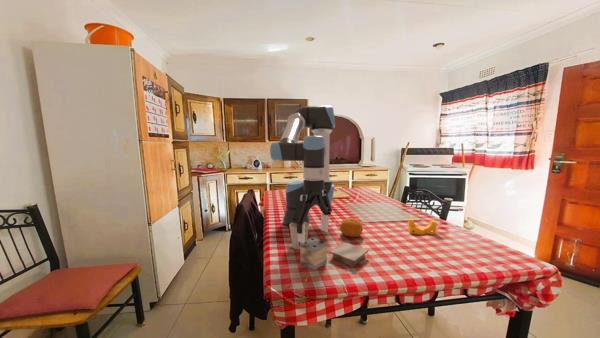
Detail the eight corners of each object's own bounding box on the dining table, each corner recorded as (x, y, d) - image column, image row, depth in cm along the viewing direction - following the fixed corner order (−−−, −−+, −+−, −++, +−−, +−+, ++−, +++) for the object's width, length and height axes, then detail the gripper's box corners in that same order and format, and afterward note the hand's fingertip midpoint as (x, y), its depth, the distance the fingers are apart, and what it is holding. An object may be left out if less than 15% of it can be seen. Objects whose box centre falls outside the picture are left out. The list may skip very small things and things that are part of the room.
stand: (328, 258, 87) (329, 251, 87) (343, 248, 96) (343, 241, 95) (354, 268, 80) (354, 260, 80) (368, 257, 88) (368, 249, 88)
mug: (294, 252, 92) (294, 229, 91) (282, 241, 103) (282, 220, 102) (312, 248, 96) (312, 225, 95) (298, 237, 107) (298, 217, 106)
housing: (300, 263, 84) (300, 242, 83) (312, 256, 89) (312, 236, 88) (315, 270, 79) (315, 248, 79) (326, 262, 85) (326, 241, 84)
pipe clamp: (409, 233, 111) (410, 221, 111) (408, 230, 116) (408, 218, 115) (436, 236, 108) (437, 223, 107) (434, 233, 112) (435, 220, 111)
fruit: (355, 242, 102) (356, 225, 101) (336, 235, 109) (336, 219, 108) (366, 235, 110) (366, 219, 109) (347, 229, 117) (347, 214, 116)
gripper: (298, 184, 69) (298, 250, 71) (341, 176, 87) (340, 229, 89) (281, 182, 74) (281, 243, 76) (325, 175, 92) (325, 224, 94)
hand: (313, 236), depth 83 cm, fingers open, 13 cm apart
